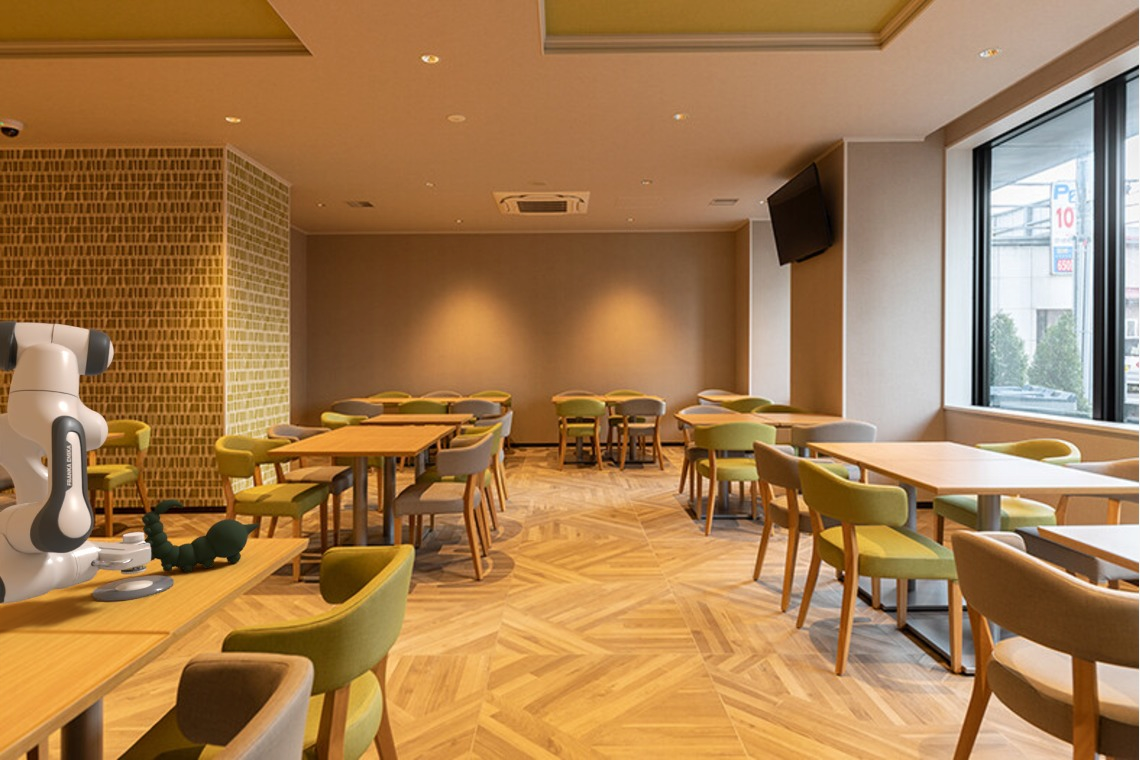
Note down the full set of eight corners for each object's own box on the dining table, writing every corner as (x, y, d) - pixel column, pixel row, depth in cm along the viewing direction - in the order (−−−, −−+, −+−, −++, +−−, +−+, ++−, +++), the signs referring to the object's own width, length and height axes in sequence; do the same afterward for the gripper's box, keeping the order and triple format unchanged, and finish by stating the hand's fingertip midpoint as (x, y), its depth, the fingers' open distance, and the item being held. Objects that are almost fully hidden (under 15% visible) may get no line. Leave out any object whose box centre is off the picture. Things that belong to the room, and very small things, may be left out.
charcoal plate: (75, 597, 144) (75, 593, 144) (138, 576, 158) (138, 572, 158) (129, 604, 139) (129, 599, 139) (189, 581, 154) (189, 578, 154)
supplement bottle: (133, 575, 145) (133, 537, 145) (115, 574, 146) (114, 536, 146) (151, 569, 150) (151, 531, 150) (134, 568, 151) (133, 531, 151)
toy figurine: (152, 588, 155) (267, 559, 169) (141, 508, 153) (258, 486, 168) (148, 578, 162) (258, 551, 177) (138, 501, 161) (250, 481, 176)
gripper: (114, 550, 133) (173, 534, 146) (39, 543, 139) (102, 528, 152) (114, 581, 133) (174, 562, 146) (39, 574, 139) (103, 556, 152)
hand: (137, 545), depth 149 cm, fingers closed on supplement bottle, 5 cm apart
